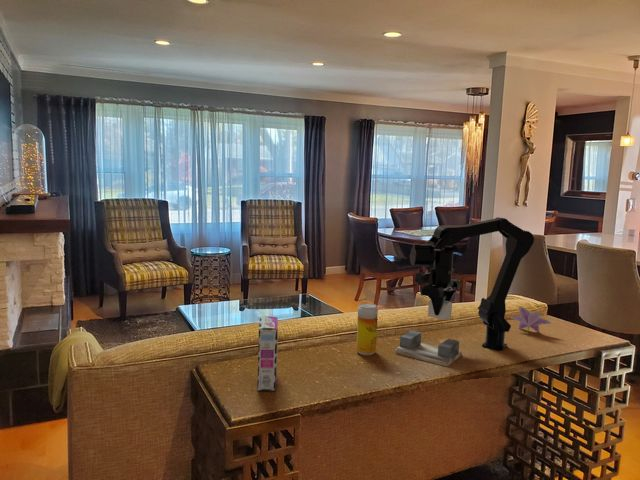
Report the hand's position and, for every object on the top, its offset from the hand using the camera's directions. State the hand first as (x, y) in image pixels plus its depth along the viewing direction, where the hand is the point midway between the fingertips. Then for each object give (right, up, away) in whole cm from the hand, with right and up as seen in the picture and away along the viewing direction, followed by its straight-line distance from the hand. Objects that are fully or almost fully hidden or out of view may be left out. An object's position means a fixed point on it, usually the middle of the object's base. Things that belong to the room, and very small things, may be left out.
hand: (439, 313), depth 162 cm
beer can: (-24, -12, -5) cm, 27 cm away
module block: (0, -1, 0) cm, 1 cm away
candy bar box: (-52, -14, -29) cm, 61 cm away
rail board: (-5, -12, -5) cm, 14 cm away
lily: (+36, -10, +19) cm, 42 cm away
